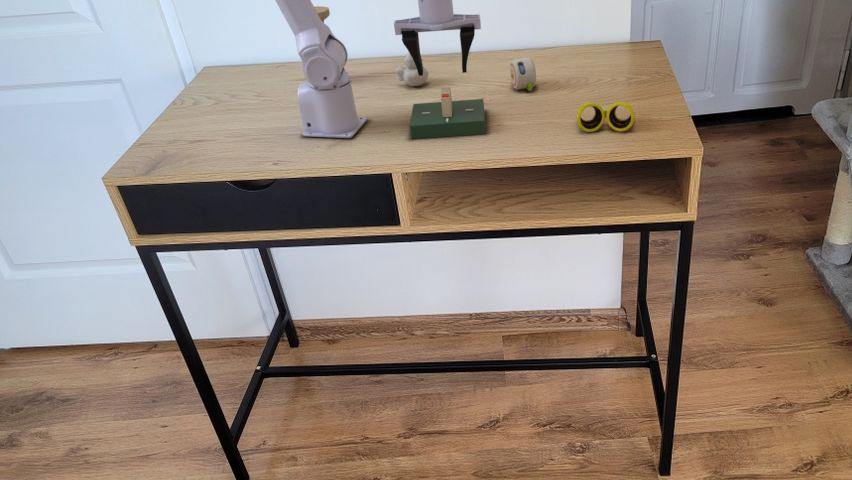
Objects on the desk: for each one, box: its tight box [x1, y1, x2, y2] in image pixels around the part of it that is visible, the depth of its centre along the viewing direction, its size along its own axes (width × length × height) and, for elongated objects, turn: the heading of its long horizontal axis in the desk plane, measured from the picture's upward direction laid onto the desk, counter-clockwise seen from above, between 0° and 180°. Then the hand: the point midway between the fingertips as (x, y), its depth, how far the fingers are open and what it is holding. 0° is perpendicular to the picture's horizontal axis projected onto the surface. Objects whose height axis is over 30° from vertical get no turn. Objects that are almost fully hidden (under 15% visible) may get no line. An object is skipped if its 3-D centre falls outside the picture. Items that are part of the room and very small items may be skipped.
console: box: [409, 98, 486, 140], centre depth 134 cm, size 13×10×3 cm
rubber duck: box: [394, 52, 429, 87], centre depth 150 cm, size 5×7×8 cm
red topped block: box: [440, 86, 453, 117], centre depth 132 cm, size 5×2×4 cm, turn 2°
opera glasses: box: [576, 101, 636, 133], centre depth 129 cm, size 10×5×5 cm, turn 84°
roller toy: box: [509, 57, 537, 92], centre depth 146 cm, size 4×6×6 cm
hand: (442, 72), depth 131 cm, fingers open, 7 cm apart
